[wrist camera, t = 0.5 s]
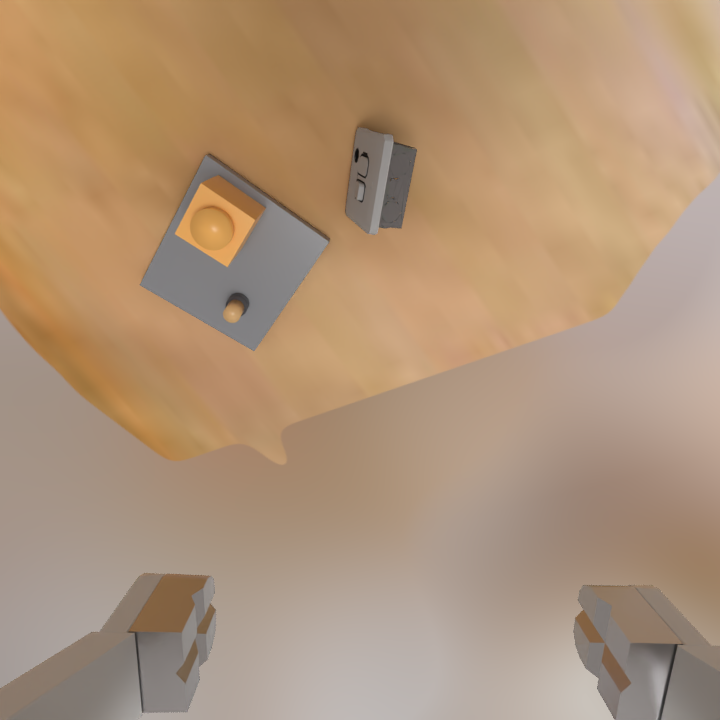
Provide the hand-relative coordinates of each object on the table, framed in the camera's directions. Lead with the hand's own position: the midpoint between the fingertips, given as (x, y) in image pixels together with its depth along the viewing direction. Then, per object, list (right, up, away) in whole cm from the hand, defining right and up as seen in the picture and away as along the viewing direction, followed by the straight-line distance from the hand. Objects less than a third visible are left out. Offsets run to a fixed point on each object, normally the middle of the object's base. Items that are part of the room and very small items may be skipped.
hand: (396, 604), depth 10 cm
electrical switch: (+1, +27, +41) cm, 49 cm away
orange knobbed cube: (-16, +22, +41) cm, 49 cm away
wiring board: (-16, +18, +45) cm, 51 cm away
